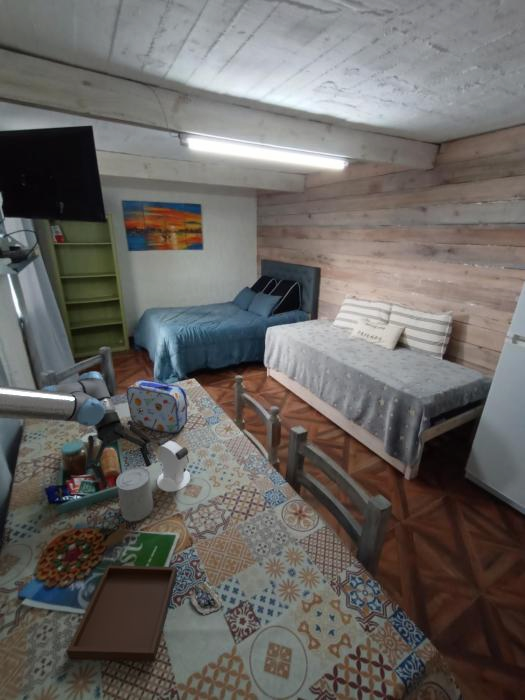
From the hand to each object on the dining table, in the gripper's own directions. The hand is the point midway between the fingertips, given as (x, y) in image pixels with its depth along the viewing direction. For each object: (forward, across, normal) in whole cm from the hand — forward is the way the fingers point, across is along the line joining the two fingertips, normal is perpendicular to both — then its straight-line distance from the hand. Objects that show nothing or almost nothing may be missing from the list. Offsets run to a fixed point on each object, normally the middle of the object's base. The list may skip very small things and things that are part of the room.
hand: (128, 475), depth 100 cm
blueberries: (+36, +1, -22) cm, 43 cm away
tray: (+29, -14, -15) cm, 36 cm away
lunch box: (-16, +27, +31) cm, 44 cm away
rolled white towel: (+10, 0, +4) cm, 11 cm away
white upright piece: (+8, +15, +6) cm, 18 cm away
